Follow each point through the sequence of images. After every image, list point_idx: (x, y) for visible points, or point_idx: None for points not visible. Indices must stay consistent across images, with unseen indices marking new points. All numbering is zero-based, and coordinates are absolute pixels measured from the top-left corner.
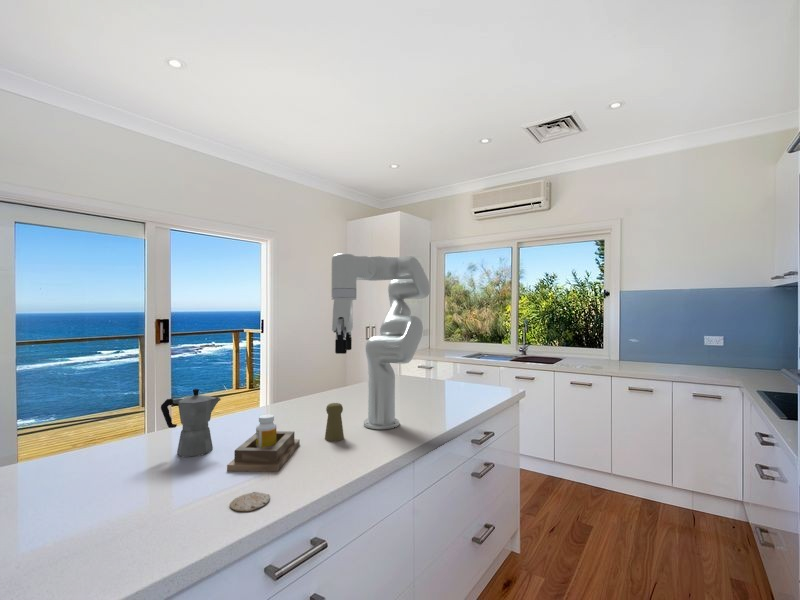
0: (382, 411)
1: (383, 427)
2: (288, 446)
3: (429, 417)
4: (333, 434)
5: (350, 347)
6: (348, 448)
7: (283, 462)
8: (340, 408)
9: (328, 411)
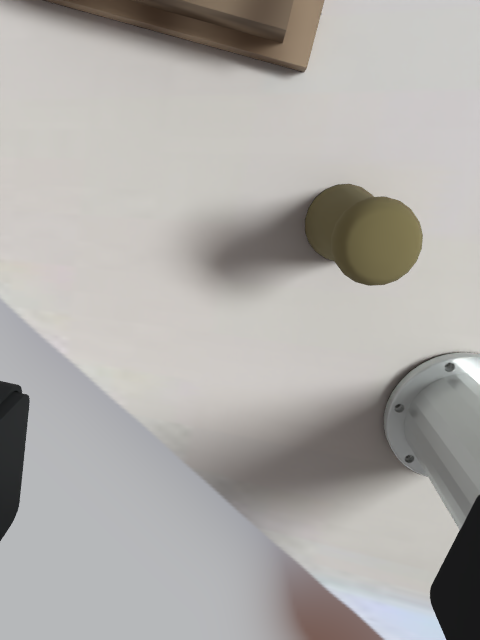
0: (426, 447)
1: (386, 415)
2: (196, 16)
3: None
4: (312, 220)
5: (442, 622)
6: (216, 267)
7: (87, 10)
8: (344, 272)
9: (349, 207)
